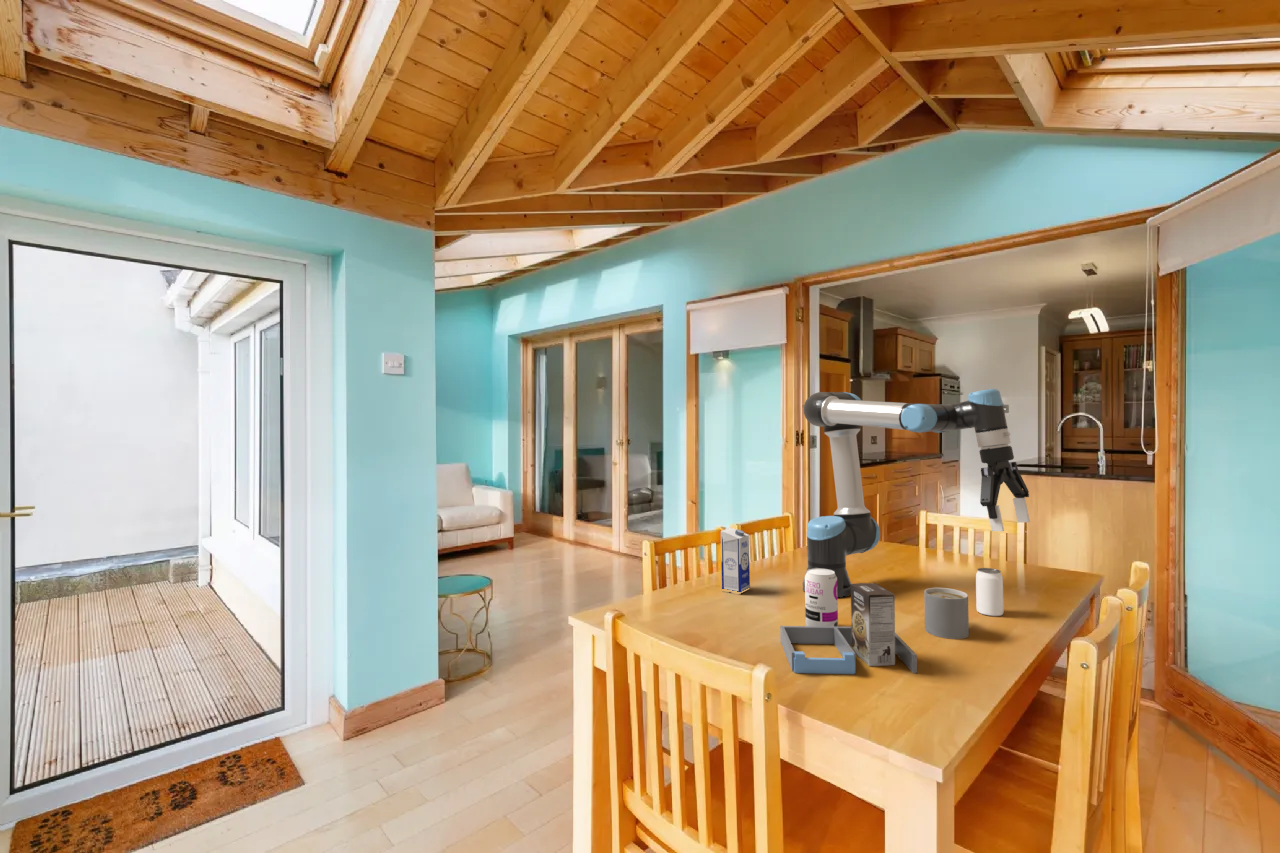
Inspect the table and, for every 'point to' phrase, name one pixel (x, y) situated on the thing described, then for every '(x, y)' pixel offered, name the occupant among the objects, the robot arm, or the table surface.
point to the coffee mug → (946, 613)
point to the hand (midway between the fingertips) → (1011, 526)
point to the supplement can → (821, 598)
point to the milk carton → (735, 560)
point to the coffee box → (873, 623)
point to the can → (989, 592)
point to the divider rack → (841, 640)
